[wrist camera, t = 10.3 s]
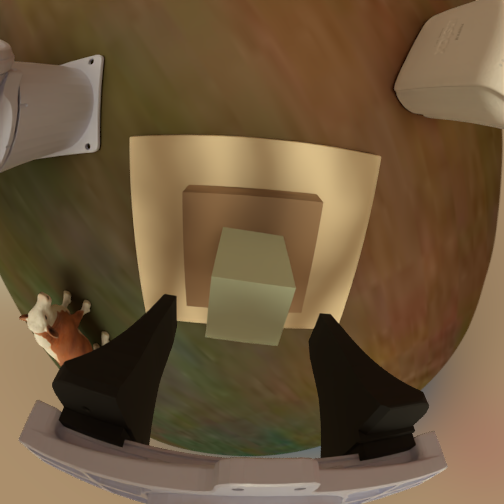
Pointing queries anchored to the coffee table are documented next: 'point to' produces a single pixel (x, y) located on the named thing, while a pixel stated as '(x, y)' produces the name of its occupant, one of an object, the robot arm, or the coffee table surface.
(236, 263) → the sage block
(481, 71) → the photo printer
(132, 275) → the coffee table surface
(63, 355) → the bull figurine
